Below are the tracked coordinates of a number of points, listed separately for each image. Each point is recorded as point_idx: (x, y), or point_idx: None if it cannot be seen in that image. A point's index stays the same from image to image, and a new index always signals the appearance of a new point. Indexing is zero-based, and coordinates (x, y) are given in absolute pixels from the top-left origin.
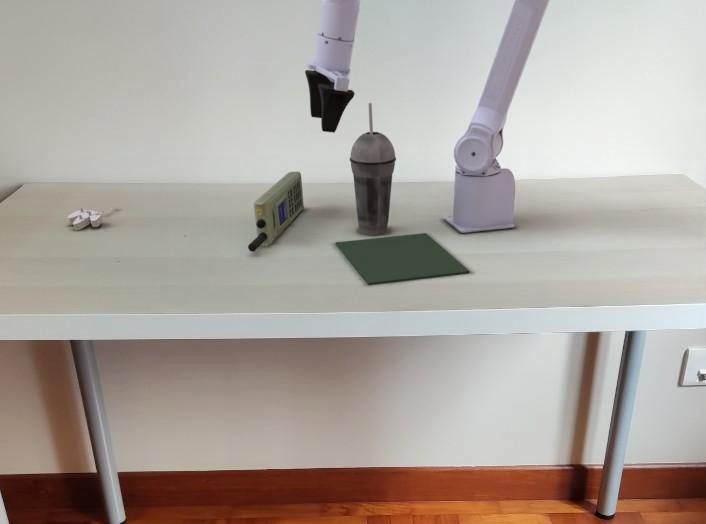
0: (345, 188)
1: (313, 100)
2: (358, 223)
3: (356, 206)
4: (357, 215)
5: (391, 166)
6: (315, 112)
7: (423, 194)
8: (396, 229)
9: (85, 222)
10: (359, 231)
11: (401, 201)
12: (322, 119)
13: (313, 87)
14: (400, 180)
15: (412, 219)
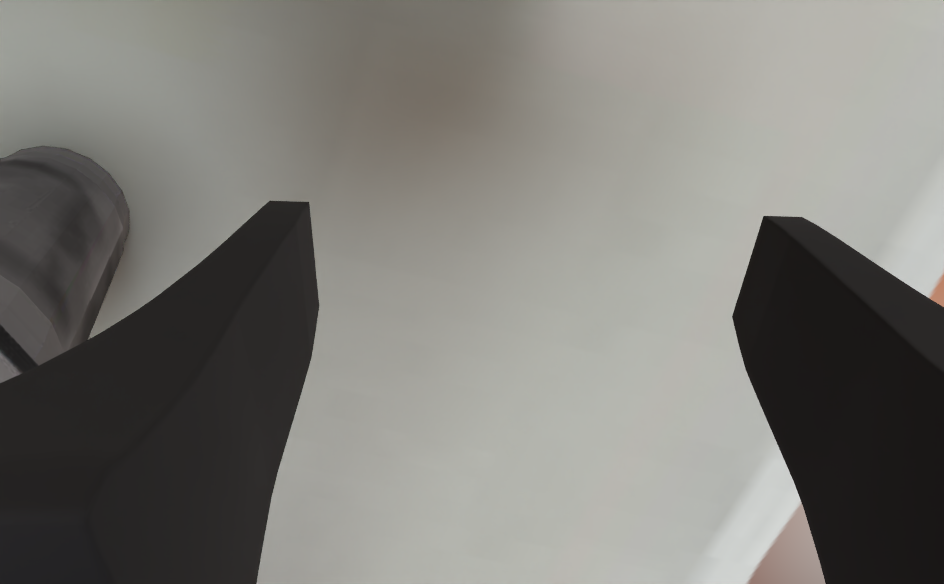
0: None
1: (845, 319)
2: (53, 157)
3: (15, 179)
4: (29, 165)
5: None
6: (773, 272)
7: (547, 519)
8: None
9: None
10: (57, 148)
11: (485, 428)
12: (221, 246)
13: (937, 422)
14: (775, 490)
15: None
